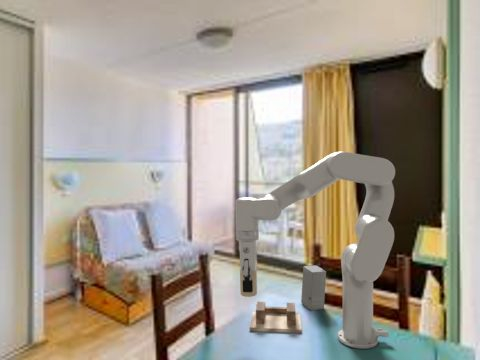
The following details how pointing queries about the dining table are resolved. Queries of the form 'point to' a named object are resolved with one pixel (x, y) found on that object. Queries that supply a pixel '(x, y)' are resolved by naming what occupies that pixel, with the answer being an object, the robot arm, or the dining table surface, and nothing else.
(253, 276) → the candle
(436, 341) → the dining table surface
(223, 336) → the dining table surface
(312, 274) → the skincare box
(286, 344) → the dining table surface
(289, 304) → the holder
